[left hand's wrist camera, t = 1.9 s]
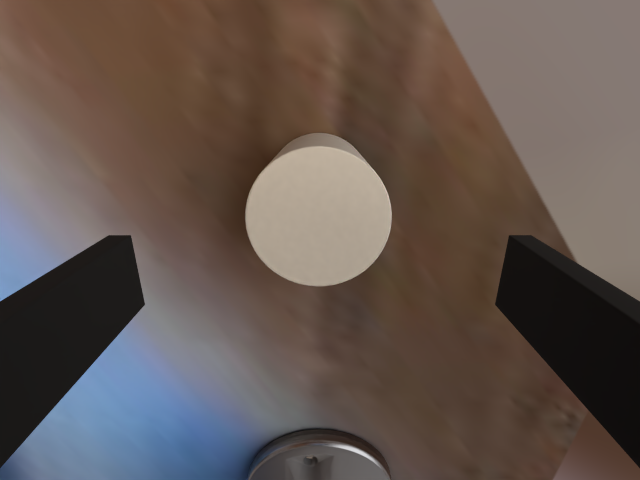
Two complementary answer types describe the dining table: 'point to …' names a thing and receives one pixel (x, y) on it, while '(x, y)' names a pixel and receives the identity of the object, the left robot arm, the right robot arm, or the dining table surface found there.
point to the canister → (318, 212)
